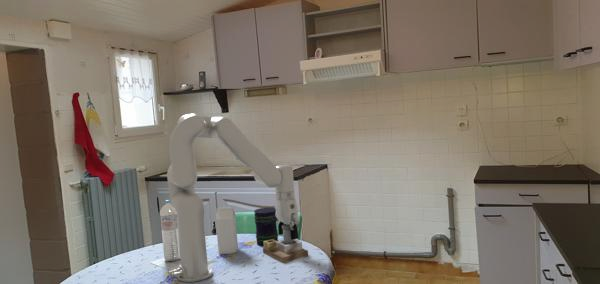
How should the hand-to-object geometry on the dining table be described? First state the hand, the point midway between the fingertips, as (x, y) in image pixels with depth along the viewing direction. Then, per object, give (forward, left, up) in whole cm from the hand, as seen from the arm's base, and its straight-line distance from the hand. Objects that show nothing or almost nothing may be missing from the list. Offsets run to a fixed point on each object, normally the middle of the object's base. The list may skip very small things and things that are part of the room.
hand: (288, 236), depth 180 cm
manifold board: (-2, +1, -7) cm, 8 cm away
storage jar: (0, +20, -7) cm, 21 cm away
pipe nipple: (0, 0, -5) cm, 5 cm away
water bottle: (-40, +29, -7) cm, 50 cm away
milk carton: (-18, +22, -7) cm, 29 cm away
